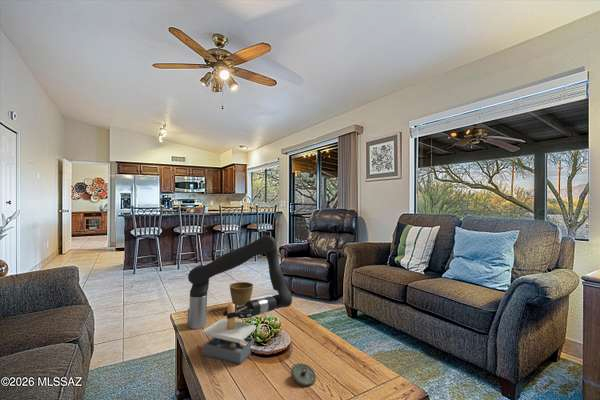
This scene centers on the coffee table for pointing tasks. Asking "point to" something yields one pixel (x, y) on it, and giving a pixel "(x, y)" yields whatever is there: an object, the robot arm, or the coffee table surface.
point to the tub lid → (230, 328)
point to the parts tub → (227, 350)
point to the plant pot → (241, 292)
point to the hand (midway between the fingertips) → (225, 315)
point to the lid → (303, 374)
